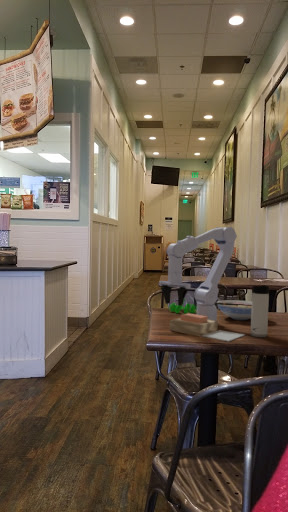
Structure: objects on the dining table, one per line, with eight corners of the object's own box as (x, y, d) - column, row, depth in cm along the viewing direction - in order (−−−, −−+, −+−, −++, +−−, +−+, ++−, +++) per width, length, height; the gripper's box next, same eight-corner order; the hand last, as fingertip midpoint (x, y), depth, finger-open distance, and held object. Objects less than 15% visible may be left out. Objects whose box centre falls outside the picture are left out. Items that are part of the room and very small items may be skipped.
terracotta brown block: (188, 318, 168) (188, 313, 168) (207, 321, 162) (207, 316, 162) (180, 319, 163) (180, 315, 163) (199, 323, 157) (199, 318, 157)
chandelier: (202, 312, 208) (202, 299, 208) (188, 316, 196) (189, 302, 196) (177, 308, 217) (177, 296, 216) (162, 312, 204) (163, 298, 204)
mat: (219, 331, 163) (219, 330, 163) (244, 335, 156) (244, 334, 156) (202, 336, 152) (202, 335, 152) (228, 341, 145) (228, 340, 145)
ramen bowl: (262, 316, 202) (262, 299, 202) (272, 325, 179) (272, 306, 179) (211, 313, 204) (212, 297, 204) (215, 322, 182) (216, 304, 181)
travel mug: (253, 337, 153) (256, 285, 153) (248, 333, 160) (250, 283, 159) (269, 337, 154) (272, 285, 153) (263, 333, 160) (265, 284, 160)
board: (188, 325, 172) (188, 316, 172) (217, 330, 164) (217, 320, 164) (169, 330, 161) (169, 320, 161) (199, 336, 153) (200, 325, 153)
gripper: (155, 271, 169) (154, 303, 170) (184, 273, 160) (183, 307, 161) (165, 270, 175) (164, 301, 175) (193, 272, 166) (192, 305, 166)
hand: (173, 304), depth 168 cm, fingers open, 6 cm apart
